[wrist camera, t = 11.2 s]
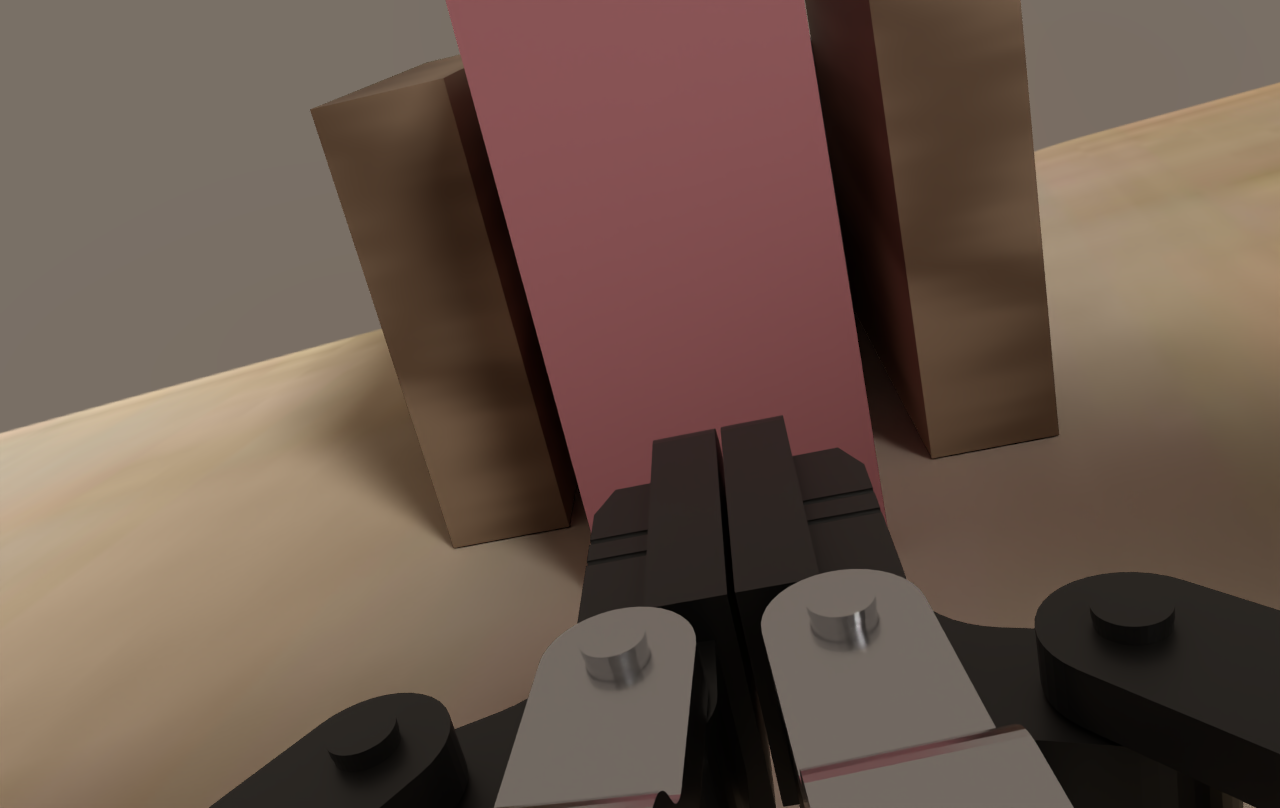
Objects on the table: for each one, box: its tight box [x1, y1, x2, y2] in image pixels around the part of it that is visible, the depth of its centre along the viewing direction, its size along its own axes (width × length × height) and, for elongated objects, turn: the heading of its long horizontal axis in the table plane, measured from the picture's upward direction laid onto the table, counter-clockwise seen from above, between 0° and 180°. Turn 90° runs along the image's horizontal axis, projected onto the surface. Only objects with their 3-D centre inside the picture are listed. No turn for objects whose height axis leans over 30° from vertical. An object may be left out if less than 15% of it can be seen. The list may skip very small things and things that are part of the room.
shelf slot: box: [310, 0, 1059, 548], centre depth 31 cm, size 15×13×11 cm
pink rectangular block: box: [446, 0, 887, 532], centre depth 28 cm, size 6×16×13 cm, turn 179°
